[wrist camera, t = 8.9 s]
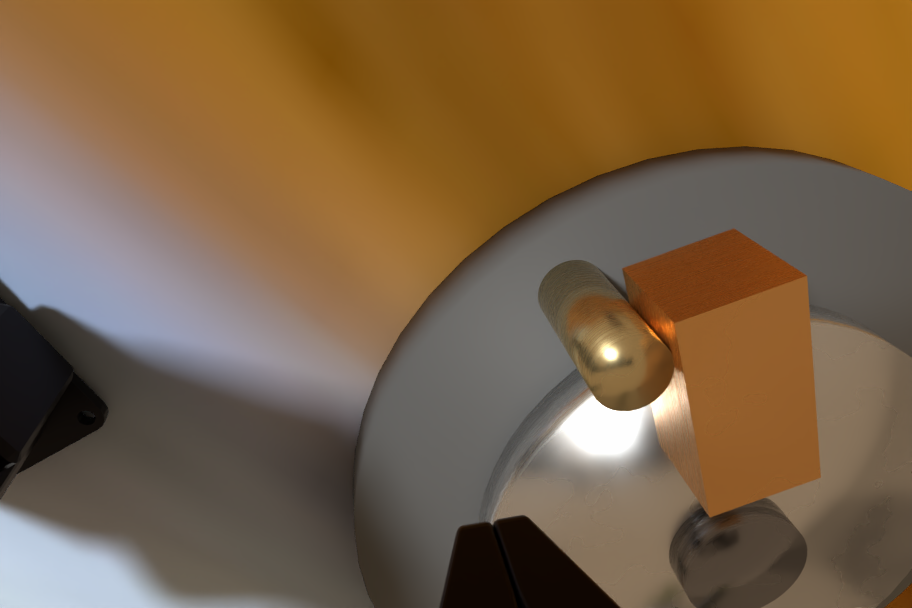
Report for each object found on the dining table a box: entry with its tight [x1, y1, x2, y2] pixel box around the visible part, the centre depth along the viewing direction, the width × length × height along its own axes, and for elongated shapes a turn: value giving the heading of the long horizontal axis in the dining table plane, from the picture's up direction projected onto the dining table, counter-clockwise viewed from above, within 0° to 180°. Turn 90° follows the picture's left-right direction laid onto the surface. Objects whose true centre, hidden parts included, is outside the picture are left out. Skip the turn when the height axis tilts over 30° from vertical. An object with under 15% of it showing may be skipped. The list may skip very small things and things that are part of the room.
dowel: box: [538, 260, 674, 412], centre depth 18 cm, size 2×2×4 cm
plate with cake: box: [478, 228, 912, 608], centre depth 21 cm, size 19×16×5 cm
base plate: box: [353, 146, 912, 608], centre depth 25 cm, size 24×24×2 cm
